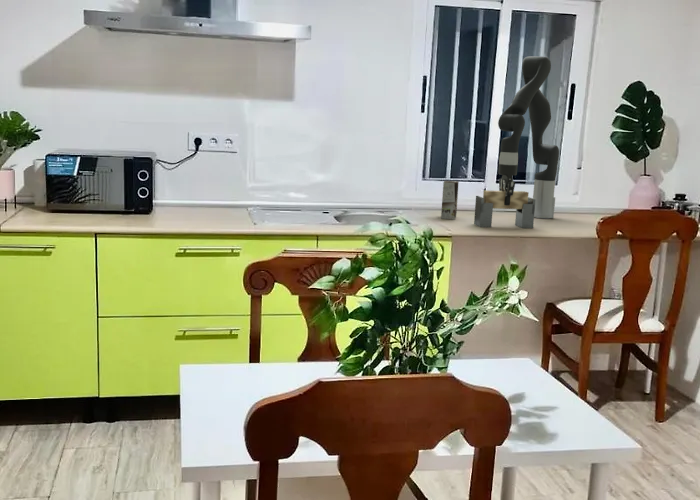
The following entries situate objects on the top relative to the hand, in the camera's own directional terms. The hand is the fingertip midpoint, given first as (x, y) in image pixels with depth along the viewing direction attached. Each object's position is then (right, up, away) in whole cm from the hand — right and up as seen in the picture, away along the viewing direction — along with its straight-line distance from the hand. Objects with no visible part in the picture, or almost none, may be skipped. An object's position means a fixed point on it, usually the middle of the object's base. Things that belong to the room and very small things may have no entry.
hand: (505, 204), depth 314 cm
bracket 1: (-9, -9, 0) cm, 13 cm away
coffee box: (-21, -5, +20) cm, 29 cm away
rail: (0, -2, 0) cm, 2 cm away
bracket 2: (+9, -9, +3) cm, 13 cm away
